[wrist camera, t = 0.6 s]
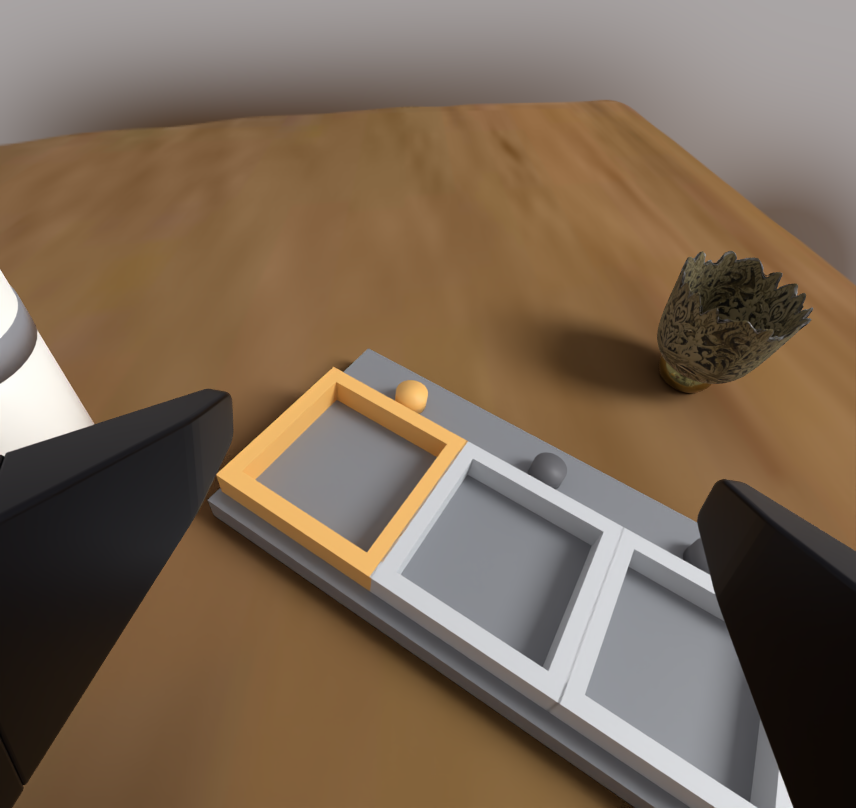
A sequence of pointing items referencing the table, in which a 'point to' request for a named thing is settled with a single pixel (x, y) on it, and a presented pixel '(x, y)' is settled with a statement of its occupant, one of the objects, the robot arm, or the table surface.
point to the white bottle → (31, 382)
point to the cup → (725, 321)
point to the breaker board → (512, 580)
